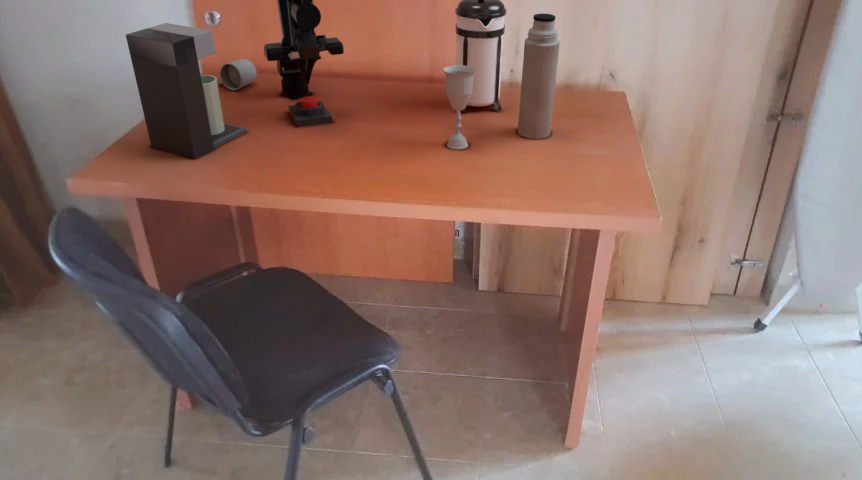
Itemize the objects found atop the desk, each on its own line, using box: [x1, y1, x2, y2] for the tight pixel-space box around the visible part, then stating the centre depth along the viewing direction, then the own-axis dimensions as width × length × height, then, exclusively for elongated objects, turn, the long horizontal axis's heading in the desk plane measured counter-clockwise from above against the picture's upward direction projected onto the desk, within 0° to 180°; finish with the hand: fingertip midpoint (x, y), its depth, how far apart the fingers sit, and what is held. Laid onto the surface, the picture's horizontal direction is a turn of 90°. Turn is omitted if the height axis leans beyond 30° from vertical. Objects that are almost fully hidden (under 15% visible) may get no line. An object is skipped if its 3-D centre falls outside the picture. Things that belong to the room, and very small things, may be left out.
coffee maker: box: [125, 22, 248, 160], centre depth 161 cm, size 18×14×26 cm
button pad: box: [288, 99, 333, 128], centre depth 179 cm, size 11×9×4 cm
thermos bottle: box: [517, 13, 561, 140], centre depth 164 cm, size 8×8×28 cm
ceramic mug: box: [218, 58, 258, 91], centre depth 199 cm, size 11×8×8 cm
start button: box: [299, 95, 319, 108], centre depth 178 cm, size 4×4×2 cm
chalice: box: [442, 64, 476, 150], centre depth 161 cm, size 7×7×18 cm
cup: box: [200, 74, 225, 135], centre depth 167 cm, size 7×7×12 cm
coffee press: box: [454, 0, 507, 114], centre depth 181 cm, size 17×16×30 cm
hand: (307, 83), depth 175 cm, fingers closed
